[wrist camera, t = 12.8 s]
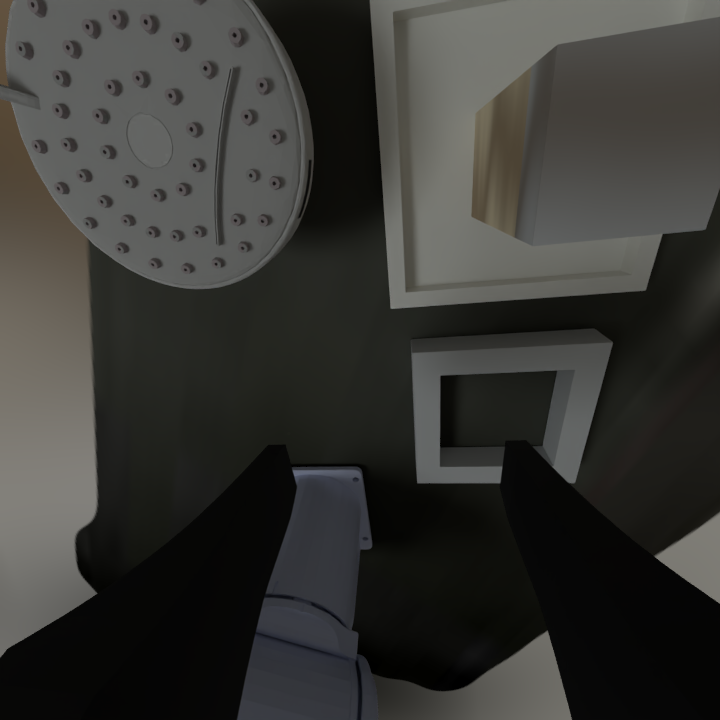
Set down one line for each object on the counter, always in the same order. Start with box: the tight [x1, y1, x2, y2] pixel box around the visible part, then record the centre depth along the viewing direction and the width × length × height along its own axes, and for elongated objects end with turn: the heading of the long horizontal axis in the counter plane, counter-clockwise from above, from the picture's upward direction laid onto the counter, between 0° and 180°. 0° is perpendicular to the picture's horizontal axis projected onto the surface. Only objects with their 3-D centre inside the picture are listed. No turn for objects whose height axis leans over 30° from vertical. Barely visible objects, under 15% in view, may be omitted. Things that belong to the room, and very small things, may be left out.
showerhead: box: [0, 0, 314, 289], centre depth 13 cm, size 9×7×10 cm
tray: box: [370, 0, 720, 309], centre depth 14 cm, size 12×12×2 cm
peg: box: [471, 17, 720, 246], centre depth 11 cm, size 4×4×8 cm
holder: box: [411, 328, 613, 483], centre depth 20 cm, size 10×10×2 cm
